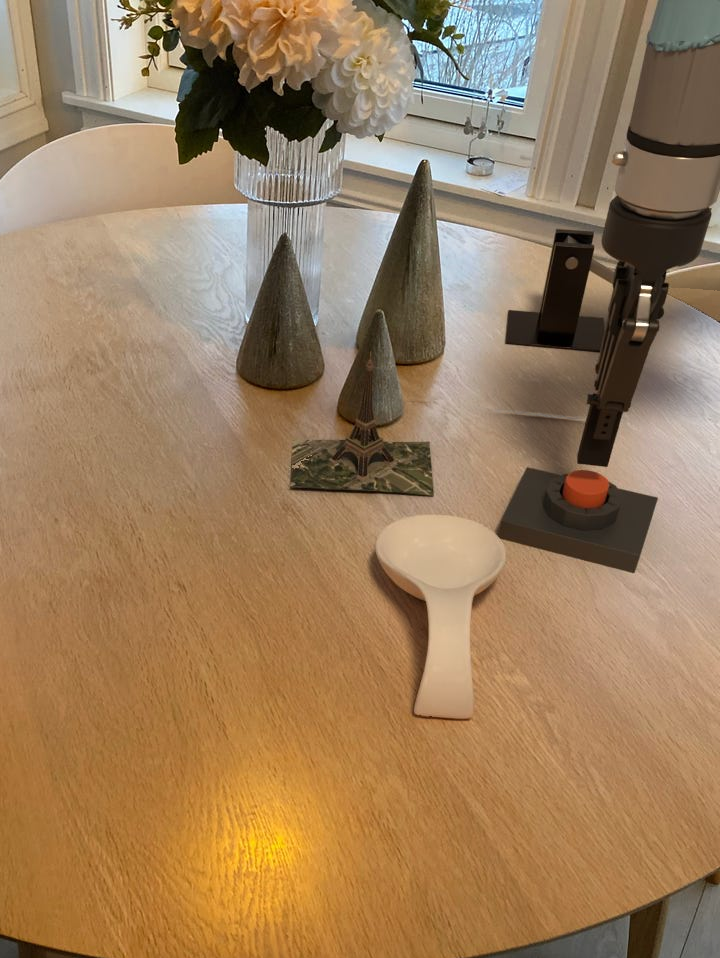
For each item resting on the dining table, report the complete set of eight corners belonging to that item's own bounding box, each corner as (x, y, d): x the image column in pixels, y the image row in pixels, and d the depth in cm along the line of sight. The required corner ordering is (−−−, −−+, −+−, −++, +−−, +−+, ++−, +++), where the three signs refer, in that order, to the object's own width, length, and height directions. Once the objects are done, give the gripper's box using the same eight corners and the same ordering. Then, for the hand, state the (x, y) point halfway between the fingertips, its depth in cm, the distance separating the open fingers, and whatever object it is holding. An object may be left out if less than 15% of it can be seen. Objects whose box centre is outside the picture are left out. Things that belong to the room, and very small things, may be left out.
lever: (652, 303, 123) (666, 287, 121) (655, 325, 119) (669, 308, 117) (555, 246, 121) (568, 228, 119) (555, 266, 117) (568, 248, 115)
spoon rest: (372, 538, 97) (377, 476, 92) (493, 543, 96) (506, 481, 91) (372, 718, 80) (379, 655, 75) (520, 726, 79) (537, 663, 74)
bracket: (601, 327, 128) (626, 227, 119) (603, 360, 122) (629, 257, 113) (506, 319, 130) (524, 220, 121) (503, 351, 124) (521, 249, 115)
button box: (652, 515, 99) (663, 481, 96) (634, 574, 92) (645, 540, 90) (523, 484, 103) (529, 451, 100) (497, 538, 97) (503, 505, 94)
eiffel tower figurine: (287, 493, 103) (289, 376, 94) (293, 440, 110) (295, 327, 101) (433, 498, 102) (449, 381, 92) (429, 444, 109) (444, 330, 100)
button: (608, 490, 96) (613, 475, 95) (600, 513, 93) (604, 497, 92) (567, 480, 97) (571, 465, 96) (557, 502, 95) (561, 487, 93)
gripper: (609, 168, 81) (551, 420, 98) (614, 230, 72) (549, 496, 89) (705, 174, 80) (630, 428, 96) (723, 237, 71) (637, 506, 87)
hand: (592, 460), depth 92 cm, fingers closed
